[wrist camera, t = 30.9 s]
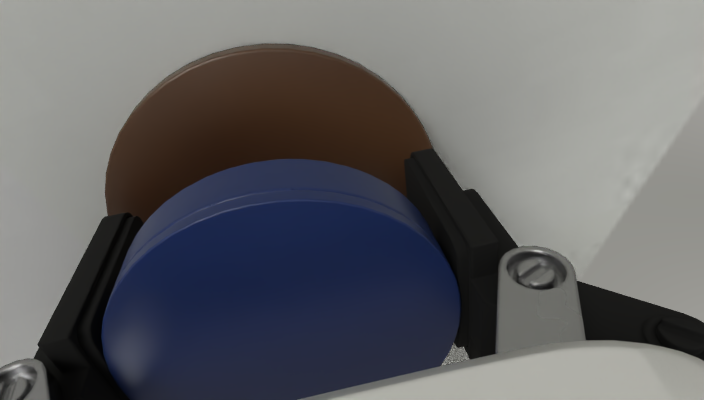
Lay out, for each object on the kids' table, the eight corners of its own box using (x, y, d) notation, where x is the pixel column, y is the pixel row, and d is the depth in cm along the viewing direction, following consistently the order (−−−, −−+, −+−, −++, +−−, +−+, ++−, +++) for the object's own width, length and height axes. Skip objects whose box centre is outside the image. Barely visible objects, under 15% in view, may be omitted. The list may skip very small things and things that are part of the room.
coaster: (438, 281, 16) (443, 291, 15) (181, 340, 15) (179, 352, 15) (425, 10, 11) (432, 14, 10) (39, 84, 10) (30, 91, 10)
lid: (182, 414, 11) (174, 472, 10) (52, 198, 8) (14, 250, 6) (440, 357, 12) (459, 405, 11) (436, 126, 8) (465, 162, 7)
